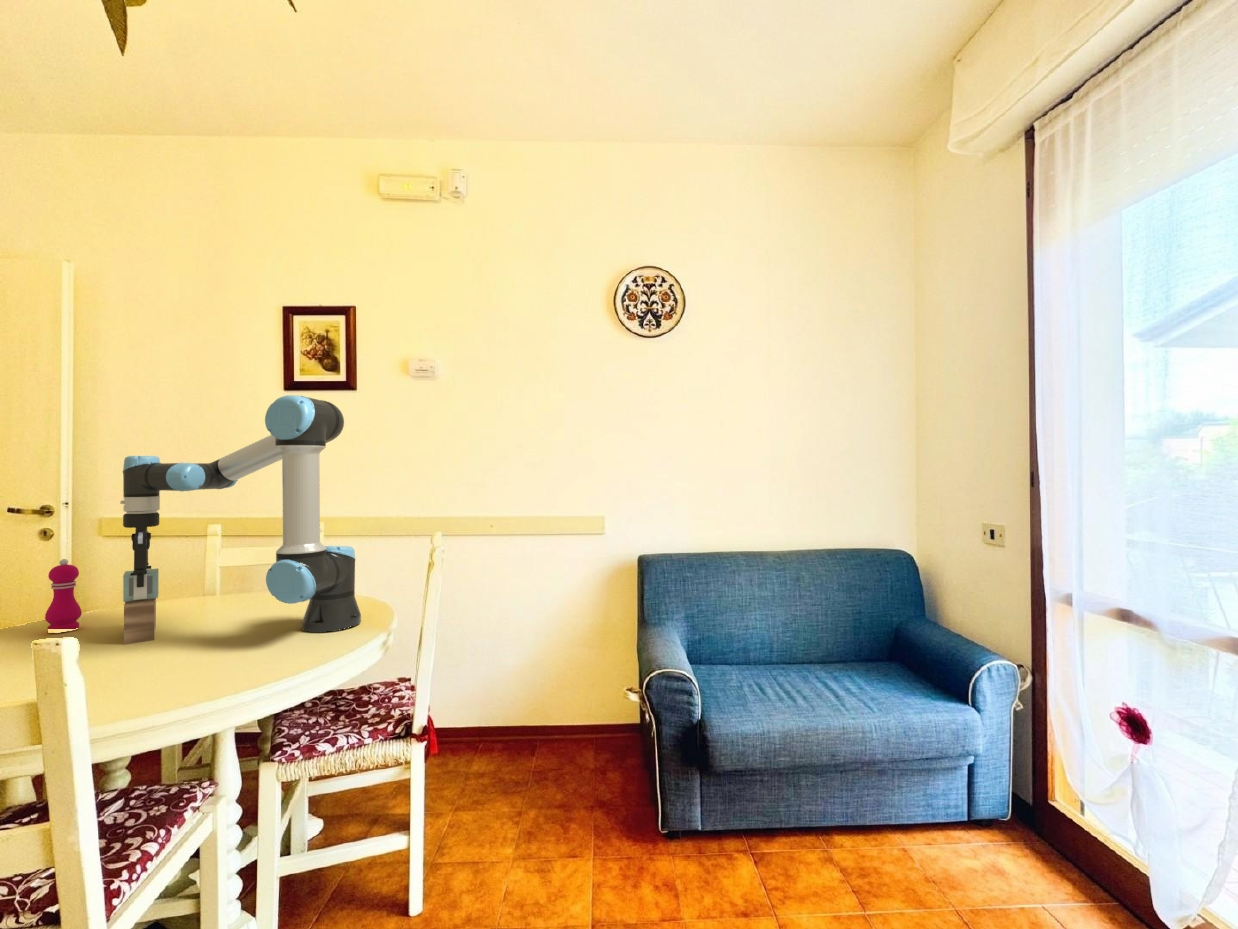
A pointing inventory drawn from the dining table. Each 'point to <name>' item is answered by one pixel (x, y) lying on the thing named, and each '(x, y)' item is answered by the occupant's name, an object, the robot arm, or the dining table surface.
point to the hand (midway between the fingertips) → (141, 596)
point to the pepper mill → (63, 597)
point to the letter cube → (151, 585)
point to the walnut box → (139, 620)
